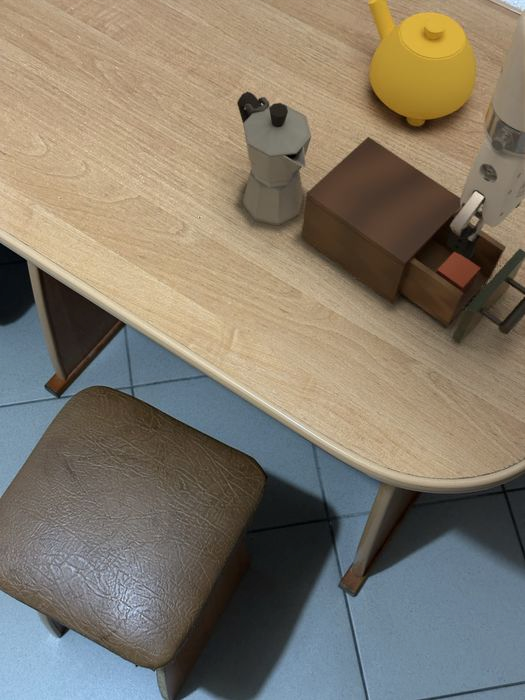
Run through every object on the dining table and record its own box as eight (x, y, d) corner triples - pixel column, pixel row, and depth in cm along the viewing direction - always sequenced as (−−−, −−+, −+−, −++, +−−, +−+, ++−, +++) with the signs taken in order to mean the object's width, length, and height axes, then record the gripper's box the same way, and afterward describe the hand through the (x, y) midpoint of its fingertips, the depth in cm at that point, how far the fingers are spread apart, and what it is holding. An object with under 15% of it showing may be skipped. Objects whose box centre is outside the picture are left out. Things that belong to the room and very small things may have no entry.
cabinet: (448, 245, 115) (465, 201, 107) (392, 304, 111) (405, 263, 102) (358, 183, 120) (368, 136, 111) (301, 237, 115) (306, 192, 107)
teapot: (326, 71, 130) (335, -3, 118) (399, 28, 135) (415, -47, 122) (414, 151, 123) (434, 81, 111) (488, 103, 128) (515, 31, 115)
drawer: (537, 305, 110) (557, 273, 103) (487, 364, 106) (505, 334, 99) (421, 225, 116) (433, 189, 109) (369, 278, 111) (378, 244, 104)
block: (473, 284, 110) (480, 268, 107) (455, 303, 109) (462, 287, 105) (448, 267, 111) (455, 250, 108) (430, 286, 110) (437, 269, 106)
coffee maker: (323, 218, 117) (337, 129, 101) (270, 245, 115) (276, 158, 99) (266, 147, 122) (270, 52, 106) (214, 172, 120) (211, 78, 104)
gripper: (508, 190, 78) (467, 290, 93) (603, 90, 84) (550, 198, 99) (442, 149, 80) (412, 253, 95) (540, 54, 87) (497, 166, 102)
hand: (483, 225), depth 97 cm, fingers open, 9 cm apart
